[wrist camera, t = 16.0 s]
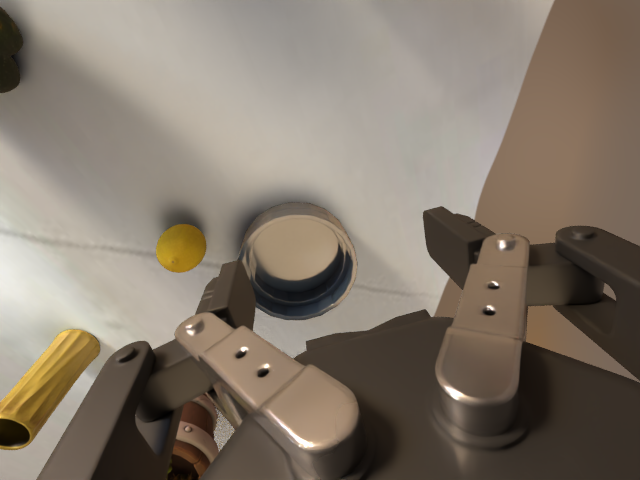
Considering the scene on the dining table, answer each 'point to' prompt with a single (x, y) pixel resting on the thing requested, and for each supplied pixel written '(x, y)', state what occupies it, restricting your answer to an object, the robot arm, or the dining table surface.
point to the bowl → (298, 261)
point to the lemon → (181, 248)
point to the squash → (8, 52)
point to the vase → (44, 387)
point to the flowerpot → (194, 441)
